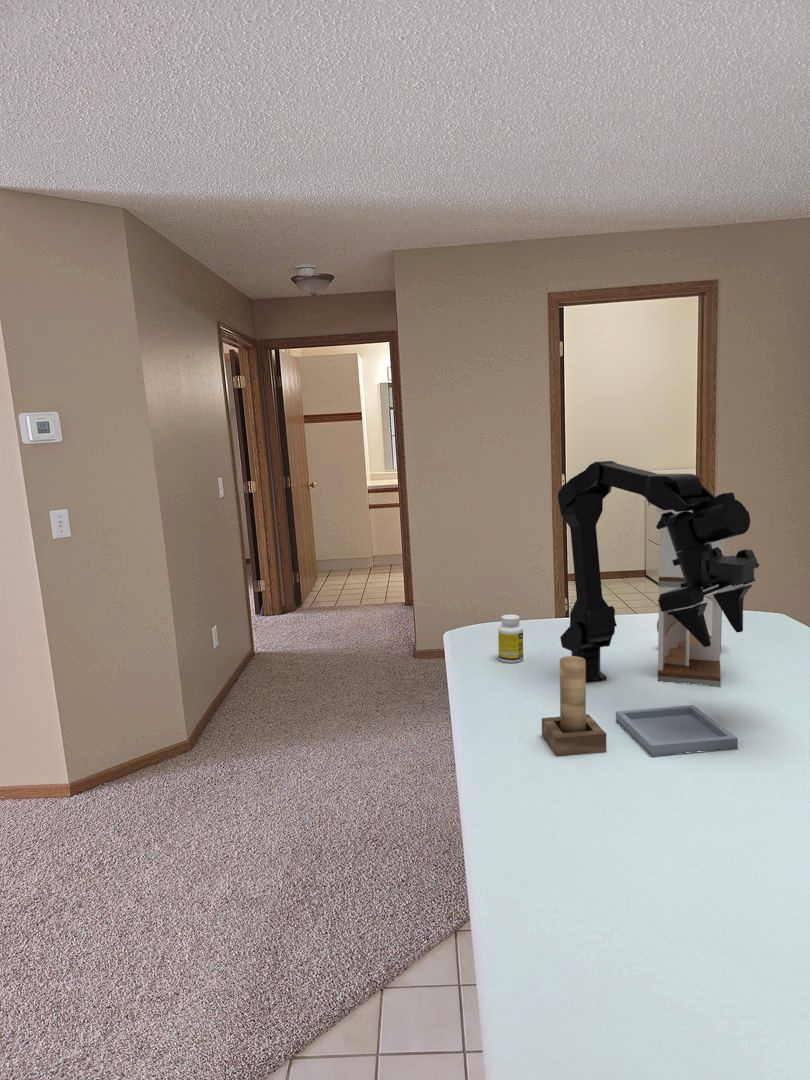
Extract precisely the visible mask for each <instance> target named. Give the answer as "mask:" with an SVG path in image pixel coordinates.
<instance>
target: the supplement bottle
mask: <svg viewBox="0 0 810 1080" xmlns="http://www.w3.org/2000/svg"><path fill="white" fill-rule="evenodd" d="M520 618H521V617H520V616H519V615H517V614H504V615H502V616H501V620H500V621H501V625H500V626H499V627H498V631H497V632H498V633H497V634H498V635H497V636H498V637H497V638H498V659H499V661H501V662H502V663H507V664H515V663H520V662H522V661H523V660H524V630H523V627H522V626H521V625H520V624H521V623H520V622H521V619H520Z"/></svg>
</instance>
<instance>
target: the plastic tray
mask: <svg viewBox="0 0 810 1080" xmlns="http://www.w3.org/2000/svg"><path fill="white" fill-rule="evenodd" d="M615 722H616V723H617V724H618V725H619V724H620V725H619V726H620V727H621V728H622V727H623V728H624V729H625V730H626V731H627V732H628V733H629V734H630V735H631V736H632V737H633V738H634V739H635V740H636V741H637V742H638V743H639V744H640V745H641V746H642V747H643V748H644V749H645V750H646V751H647V752H648V753H649V754H650V755H651V756H654V757H659V756H658V755H665V756H670V755H669V754H676V755H679V754H678V753H686V752H697V751H710V752H719V751H720V750H721V751H729V750H738V749H739V748H738V743H739V738H738V736H736V735H735V734H734V733H732V732H730V731H729V730H728V729H727V728H725V727H723V726H722V724H720V723H718V722H717V721H716V720H715V719H713V718H711V717H710V716H709V715H707V714H706V713H705V712H704V711H702V710H701V709H699V708H698V707H697V706H695V705H694V704H691V705H677V706H667V707H652V708H641V709H630V710H619V711H617V710H616V711H615ZM623 728H622V729H623ZM624 729H623V730H624ZM625 730H624V731H625ZM626 731H625V732H626ZM627 732H626V733H627ZM628 733H627V734H628ZM629 734H628V735H629ZM630 735H629V736H630ZM631 736H630V737H631ZM632 737H631V738H632ZM633 738H632V739H633ZM634 739H633V740H634ZM635 740H634V741H635ZM636 741H635V742H636ZM637 742H636V743H637ZM638 743H637V744H638ZM639 744H638V745H639ZM640 745H639V746H640ZM641 746H640V747H641ZM642 747H641V748H642ZM643 748H642V749H643ZM644 749H643V750H644ZM645 750H644V751H645ZM646 751H645V752H646ZM647 752H646V753H647ZM648 753H647V754H648ZM649 754H648V755H649ZM650 755H649V756H650ZM651 756H650V757H651Z"/></svg>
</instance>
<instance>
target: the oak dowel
mask: <svg viewBox="0 0 810 1080" xmlns="http://www.w3.org/2000/svg"><path fill="white" fill-rule="evenodd" d="M586 683H587V681H586V660H585V659H584V658H582V657H577V656H571V655H568V656H567V655H566V656H563V657H560V659H559V706H560V707H559V709H560V710H559V711H560V712H559V713H560V714H559V715H560V716H559V717H560V730H561V731H562V733H571V732H583V731H586V714H587V712H586V711H587V709H586V705H587V703H586V702H587V701H586V699H587V698H586V696H587V693H586V691H587V689H586Z"/></svg>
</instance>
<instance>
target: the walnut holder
mask: <svg viewBox="0 0 810 1080" xmlns="http://www.w3.org/2000/svg"><path fill="white" fill-rule="evenodd" d="M541 736H542V737H543V739H544V741H545V742H546V743H547V745H548V746H549V747H550V749H551V750H552V752H553V753H554V754H555V756H556V757H562V756H574V755H584V754H598V753H605V752H607V733H606V731H605V730H603V728H602V727H601V726H600V725H599V724H598V723H597V722H596V721H595V720H594V719H593V717H591V715H590V714H588V713H586V731H583V732H571V733H562V731H561V730H560V716H550V717H541Z"/></svg>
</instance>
